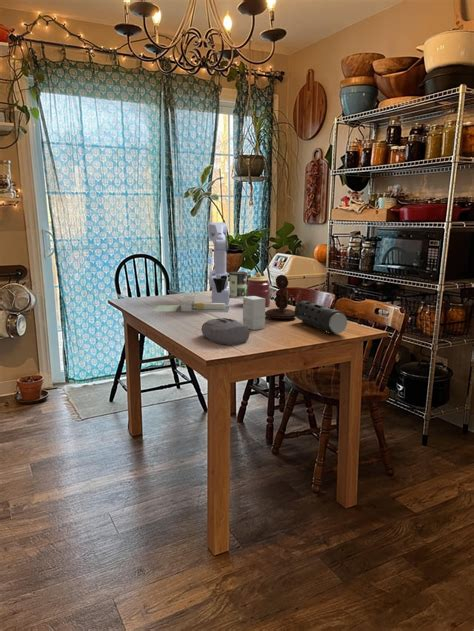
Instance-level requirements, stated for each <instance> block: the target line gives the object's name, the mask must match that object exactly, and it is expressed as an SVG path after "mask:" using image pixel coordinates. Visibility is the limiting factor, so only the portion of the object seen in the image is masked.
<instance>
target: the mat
mask: <svg viewBox="0 0 474 631" xmlns="http://www.w3.org/2000/svg"><path fill="white" fill-rule="evenodd" d="M229 309H230V306H229V305H225V310H216V309H195V306H194V308H193V310H192V312H191V313H229V311H230V310H229ZM152 312H168V313H171V312H176V313H177V312H179V313H180V312H181V313H182V312H184V313H186V312H185V311H181V304H180V305H176V304H174V305H173V304H171V305H170V304H158V305H157V306H156V307H155V308H154V309H153V310H152Z"/></svg>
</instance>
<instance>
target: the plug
mask: <svg viewBox="0 0 474 631" xmlns="http://www.w3.org/2000/svg"><path fill="white" fill-rule="evenodd" d="M193 306H195V309H216V310H225V306H226V305H225V303H211V302H204V301H202V302H199V301H198V302H197V301H195V305H193Z"/></svg>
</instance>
